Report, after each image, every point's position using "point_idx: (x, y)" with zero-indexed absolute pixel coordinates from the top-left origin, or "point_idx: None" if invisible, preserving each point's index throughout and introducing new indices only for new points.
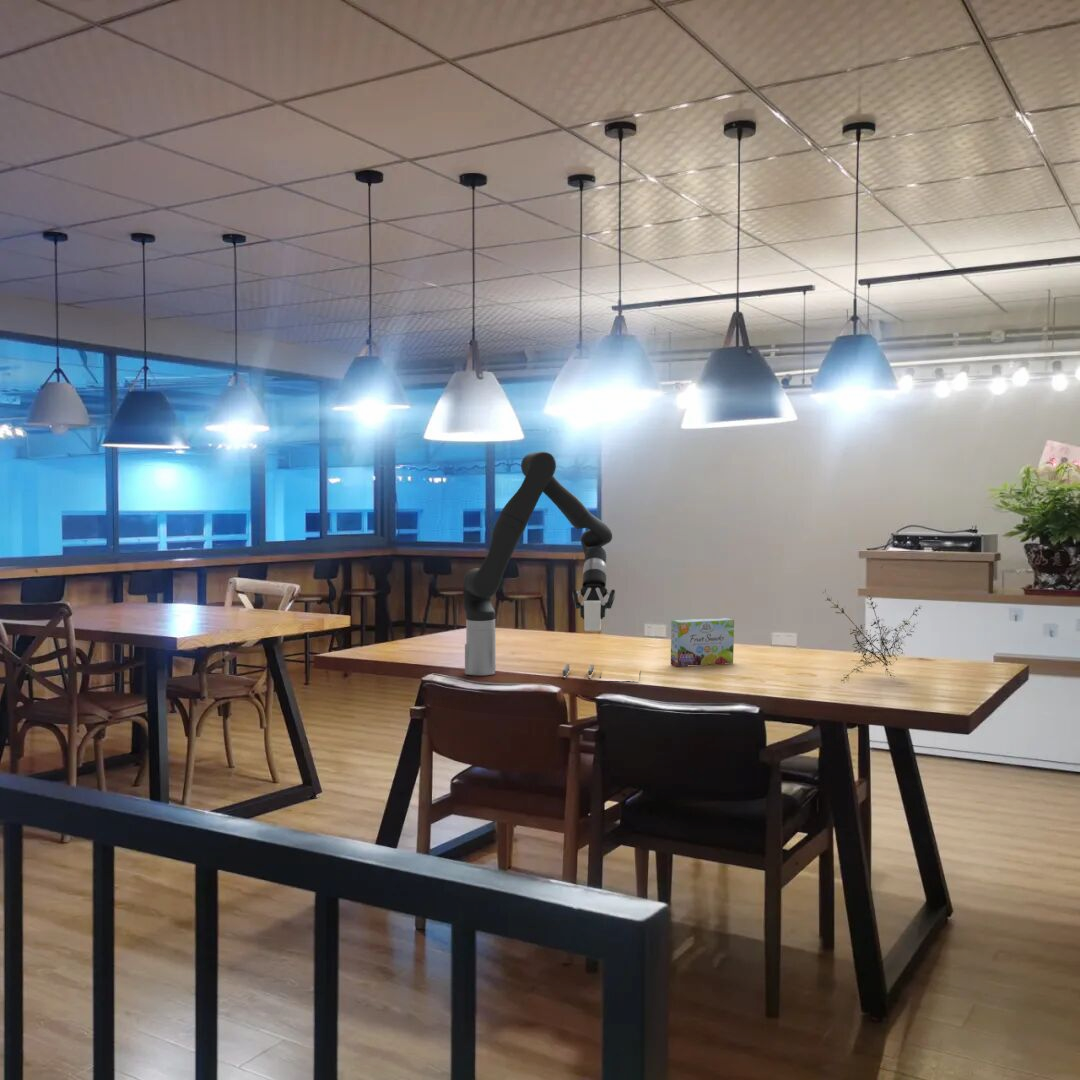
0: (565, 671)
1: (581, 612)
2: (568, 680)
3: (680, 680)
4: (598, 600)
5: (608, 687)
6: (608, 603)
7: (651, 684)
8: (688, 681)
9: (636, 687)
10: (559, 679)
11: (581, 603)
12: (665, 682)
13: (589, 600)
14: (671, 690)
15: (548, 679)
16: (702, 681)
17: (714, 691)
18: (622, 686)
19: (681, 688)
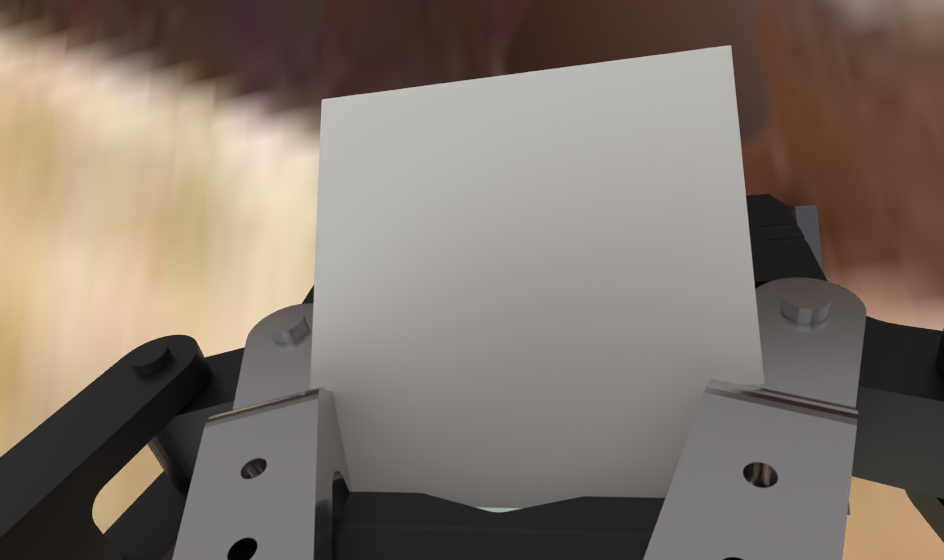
0: (794, 209)
1: (769, 221)
2: (748, 160)
3: (126, 276)
4: (370, 472)
5: (478, 3)
6: (181, 339)
7: (266, 136)
8: (95, 254)
9: (338, 40)
10: (820, 184)
11: (844, 315)
12: (198, 206)
13: (629, 483)
14: (189, 10)
15: (904, 170)
16: (37, 266)
17: (31, 35)
18: (407, 48)
19: (145, 67)
